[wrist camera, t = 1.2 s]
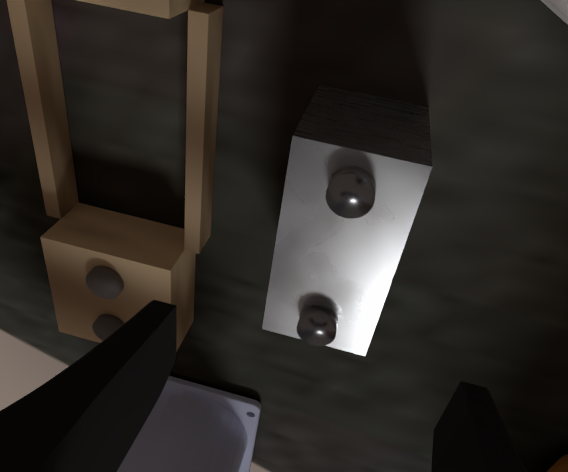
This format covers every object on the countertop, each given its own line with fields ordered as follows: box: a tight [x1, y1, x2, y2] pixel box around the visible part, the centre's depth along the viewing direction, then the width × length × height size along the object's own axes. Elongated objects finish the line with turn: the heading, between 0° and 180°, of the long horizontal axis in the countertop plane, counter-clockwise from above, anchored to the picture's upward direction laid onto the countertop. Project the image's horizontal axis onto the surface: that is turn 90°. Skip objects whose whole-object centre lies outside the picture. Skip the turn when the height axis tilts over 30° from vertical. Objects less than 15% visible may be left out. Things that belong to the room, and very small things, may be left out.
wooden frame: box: [7, 0, 223, 352], centre depth 19 cm, size 22×7×3 cm, turn 173°
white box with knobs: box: [262, 84, 432, 356], centre depth 18 cm, size 8×4×6 cm, turn 173°
